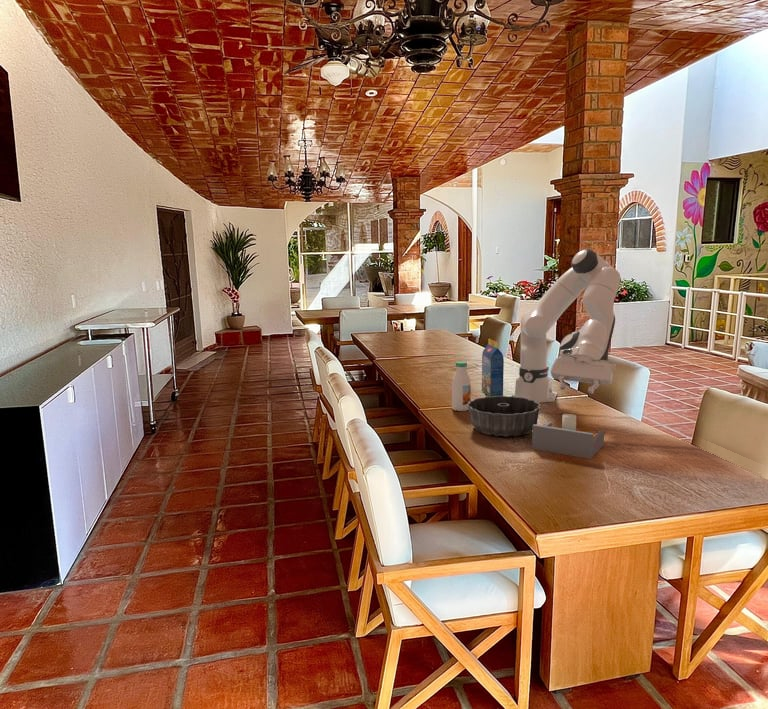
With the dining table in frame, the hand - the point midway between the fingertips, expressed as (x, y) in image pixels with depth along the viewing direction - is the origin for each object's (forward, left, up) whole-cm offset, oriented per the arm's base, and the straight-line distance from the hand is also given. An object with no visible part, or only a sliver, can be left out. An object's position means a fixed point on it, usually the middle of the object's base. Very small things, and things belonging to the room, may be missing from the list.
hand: (575, 390), depth 190 cm
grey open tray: (+6, 0, -18) cm, 19 cm away
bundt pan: (+1, -25, -18) cm, 31 cm away
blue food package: (-46, -50, -18) cm, 71 cm away
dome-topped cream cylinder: (+7, 0, -16) cm, 17 cm away
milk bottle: (-16, -51, -18) cm, 56 cm away
